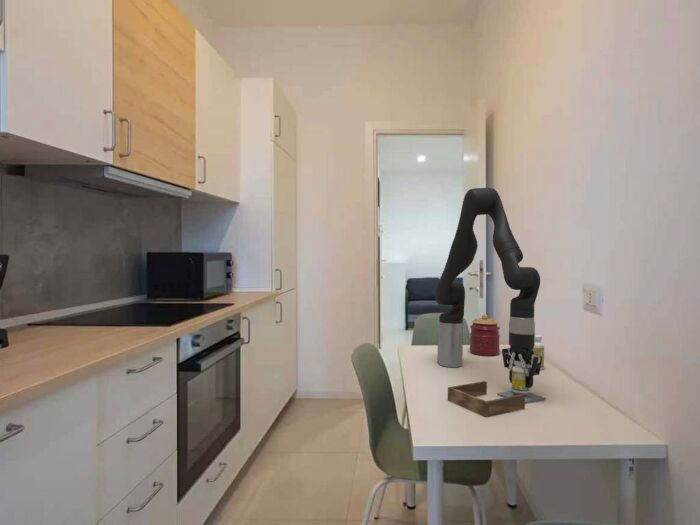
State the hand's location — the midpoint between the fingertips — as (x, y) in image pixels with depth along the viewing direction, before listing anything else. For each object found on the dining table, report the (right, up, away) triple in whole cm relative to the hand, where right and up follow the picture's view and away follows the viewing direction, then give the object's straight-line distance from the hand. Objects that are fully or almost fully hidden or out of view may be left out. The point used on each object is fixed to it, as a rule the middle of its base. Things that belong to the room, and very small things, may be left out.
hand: (520, 384), depth 142 cm
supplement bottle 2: (+19, -3, +36) cm, 41 cm away
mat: (0, -4, 0) cm, 4 cm away
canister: (+7, -3, +63) cm, 63 cm away
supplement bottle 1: (0, -2, 0) cm, 2 cm away
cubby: (-13, -4, -7) cm, 15 cm away
